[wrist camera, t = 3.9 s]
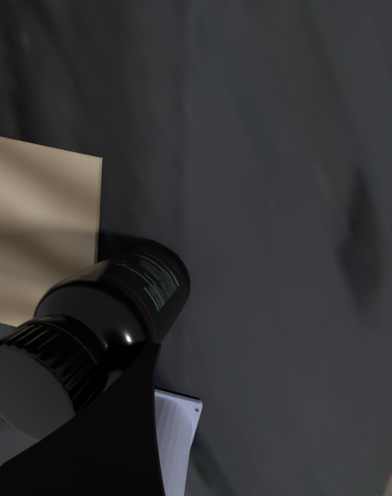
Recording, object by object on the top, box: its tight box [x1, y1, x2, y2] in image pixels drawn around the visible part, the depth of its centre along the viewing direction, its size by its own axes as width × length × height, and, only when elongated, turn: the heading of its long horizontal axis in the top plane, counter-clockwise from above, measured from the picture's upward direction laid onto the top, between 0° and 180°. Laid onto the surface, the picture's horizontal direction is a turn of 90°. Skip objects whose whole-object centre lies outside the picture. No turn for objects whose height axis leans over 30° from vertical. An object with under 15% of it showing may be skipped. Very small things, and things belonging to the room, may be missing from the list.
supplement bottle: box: [0, 243, 190, 441], centre depth 15 cm, size 7×7×12 cm
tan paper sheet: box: [0, 137, 102, 327], centre depth 21 cm, size 18×13×1 cm
